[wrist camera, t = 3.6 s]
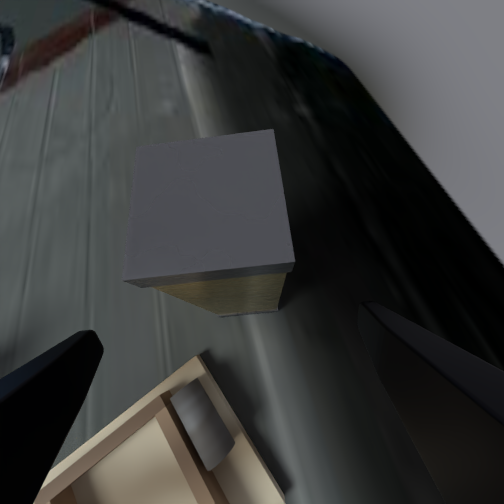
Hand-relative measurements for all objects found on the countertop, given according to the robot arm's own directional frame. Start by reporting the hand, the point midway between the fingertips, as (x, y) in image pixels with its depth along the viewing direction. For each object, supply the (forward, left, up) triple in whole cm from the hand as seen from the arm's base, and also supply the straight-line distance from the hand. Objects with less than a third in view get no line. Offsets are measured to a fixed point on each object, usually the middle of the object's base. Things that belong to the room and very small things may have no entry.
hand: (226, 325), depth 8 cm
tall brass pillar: (+3, -2, -11) cm, 11 cm away
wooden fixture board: (-4, +11, -11) cm, 16 cm away
